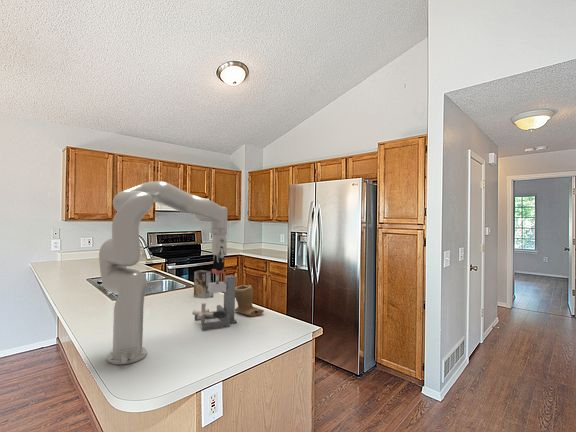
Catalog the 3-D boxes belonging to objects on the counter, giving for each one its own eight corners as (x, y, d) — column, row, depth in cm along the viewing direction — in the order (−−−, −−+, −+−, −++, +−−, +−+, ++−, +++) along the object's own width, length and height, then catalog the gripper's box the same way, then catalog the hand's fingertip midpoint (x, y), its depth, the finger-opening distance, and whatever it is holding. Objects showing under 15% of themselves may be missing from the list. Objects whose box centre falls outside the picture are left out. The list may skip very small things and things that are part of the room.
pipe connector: (208, 329, 140) (209, 307, 140) (187, 326, 142) (188, 305, 142) (216, 322, 150) (217, 301, 150) (197, 319, 152) (198, 299, 152)
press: (239, 325, 146) (240, 279, 146) (202, 330, 138) (204, 281, 138) (228, 315, 161) (229, 273, 161) (194, 319, 152) (195, 275, 152)
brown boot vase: (228, 312, 165) (229, 284, 165) (245, 308, 174) (246, 281, 174) (247, 320, 154) (248, 290, 155) (264, 314, 163) (265, 286, 163)
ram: (226, 297, 149) (227, 270, 149) (210, 299, 145) (211, 271, 145) (222, 294, 154) (223, 268, 154) (207, 296, 150) (208, 269, 150)
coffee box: (211, 296, 197) (212, 271, 197) (205, 298, 191) (206, 272, 191) (198, 294, 200) (199, 269, 200) (193, 296, 194) (193, 271, 194)
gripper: (232, 232, 144) (231, 272, 144) (221, 230, 158) (220, 266, 159) (216, 233, 140) (215, 273, 140) (206, 230, 155) (205, 267, 155)
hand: (218, 269), depth 149 cm, fingers open, 4 cm apart
